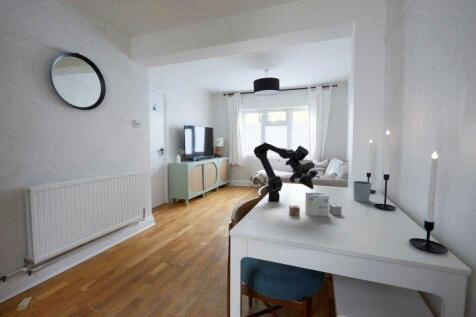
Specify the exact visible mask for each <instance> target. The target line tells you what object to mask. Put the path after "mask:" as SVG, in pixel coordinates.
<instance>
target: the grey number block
mask: <svg viewBox="0 0 476 317" xmlns="http://www.w3.org/2000/svg"><path fill="white" fill-rule="evenodd" d="M329 214H330V215H332V216H342V206H341V205H340V204H339V203H337V204H336V203H335V204H334V203H329Z"/></svg>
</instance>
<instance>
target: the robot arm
mask: <svg viewBox="0 0 476 317" xmlns="http://www.w3.org/2000/svg"><path fill="white" fill-rule="evenodd" d="M268 151H271V152H273V153H275V154H278V156H279V157H280V158H281V159H284V160H285V166H290V168H291V169H292V171H291V172H292V174H291V175H290V177H289V182H290V183H291V184H292V183H295V182H296V180H297V179H298V180H299V181H298V183H300V184H301V185H304V186H305V187H307V188H309V189H311V190H313V189H315V187H314V185H313V184H314V183H313V179H314V178H315V177H316V176H317V175H318V174H319V172H318V171H317V170H314V168H315V166H316V164H315V163H314V161H310V162H309V161H308V162H306V163H304V164H303V163H301V162H303V160H304V159H306V157H307V156H308V155H309V153H310V152H309V150H308V149H306V148H305V147H304V146H302V145H299V146H298V147H297V148H296V150H295V151H294V149H292V148H287V147H286V148H285V147H281V146H279V145H277V144H274V143H272V142H271V141H264V142H263V143H262V144H259V145H258V146H256V147H254V149H253V154H254V156H255V157H256V159H258V160H259V161H260V162H261V164H262V167H263V169H264V171H265V174H266V176H267V178H268V180H267V183H268V185H267V186H266V188H265V191H266V192H267V193H268V198H267V200H268V202H269V203H270V202H271V203H273V202H274V203H276V202H277V203H279V202H280V199H281V198H280V196H281V194H280V192H281V191H282V188H283V185H284V184H283V180H282V179H281V176H279V175H276V174H275V172H274V168H273V167H272V165H271V163H270V160H269V158H268ZM287 159H288V160H287ZM312 169H313V170H312Z"/></svg>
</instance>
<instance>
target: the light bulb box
mask: <svg viewBox="0 0 476 317" xmlns="http://www.w3.org/2000/svg"><path fill="white" fill-rule="evenodd" d="M329 200H330V195H329V194H327V193H326V192H305V213H306V215H307V216H315V217H316V216H318V217H319V216H320V217H328V216H329V214H330V212H329V204H330V201H329Z"/></svg>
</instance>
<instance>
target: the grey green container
mask: <svg viewBox="0 0 476 317" xmlns="http://www.w3.org/2000/svg"><path fill="white" fill-rule="evenodd" d="M372 185H373V184H372V182H369V181H365V180H364V181H363V180H356V181H355V180H354V181H353V200H354V201H355V202H359V203H369V202H370V197H371V189H372Z"/></svg>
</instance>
